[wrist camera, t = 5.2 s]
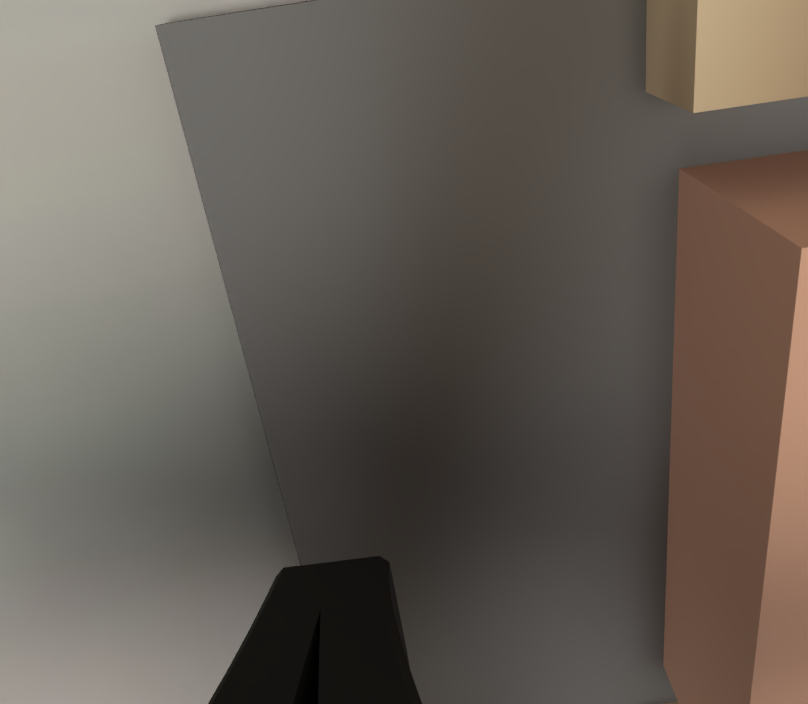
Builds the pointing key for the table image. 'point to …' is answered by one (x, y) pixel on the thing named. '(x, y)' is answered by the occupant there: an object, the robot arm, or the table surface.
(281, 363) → the t frame
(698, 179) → the t block
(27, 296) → the table surface
